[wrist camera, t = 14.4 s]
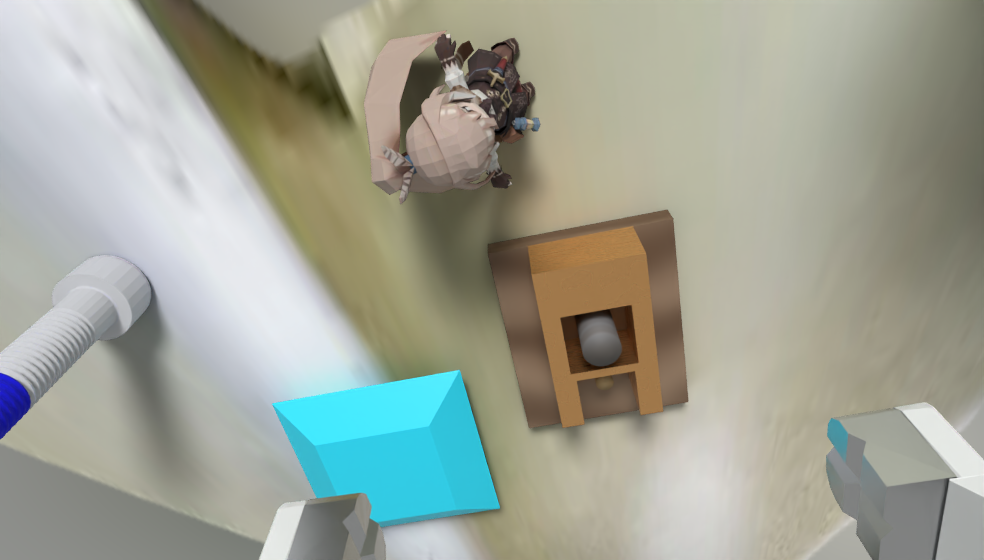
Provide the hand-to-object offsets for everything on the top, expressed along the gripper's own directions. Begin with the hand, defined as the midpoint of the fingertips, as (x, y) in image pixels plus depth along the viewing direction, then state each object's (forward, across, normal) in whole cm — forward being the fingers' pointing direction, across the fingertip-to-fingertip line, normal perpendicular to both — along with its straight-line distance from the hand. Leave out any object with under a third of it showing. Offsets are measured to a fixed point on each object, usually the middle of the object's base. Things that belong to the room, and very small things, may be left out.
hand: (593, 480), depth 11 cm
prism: (+31, +15, +25) cm, 43 cm away
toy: (+31, +4, -1) cm, 32 cm away
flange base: (+31, -2, +17) cm, 35 cm away
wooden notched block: (+30, -2, +15) cm, 33 cm away
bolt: (+31, +30, +7) cm, 44 cm away
